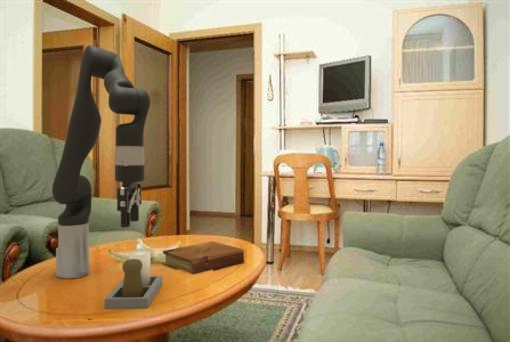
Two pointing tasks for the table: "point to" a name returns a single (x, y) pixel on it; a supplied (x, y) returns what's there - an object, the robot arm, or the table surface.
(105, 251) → the table surface
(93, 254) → the table surface
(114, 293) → the tray
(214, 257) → the diary
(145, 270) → the cylinder
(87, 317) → the table surface
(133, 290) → the cork
